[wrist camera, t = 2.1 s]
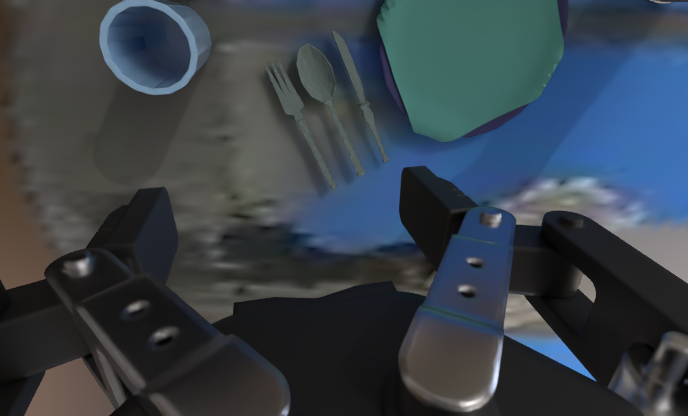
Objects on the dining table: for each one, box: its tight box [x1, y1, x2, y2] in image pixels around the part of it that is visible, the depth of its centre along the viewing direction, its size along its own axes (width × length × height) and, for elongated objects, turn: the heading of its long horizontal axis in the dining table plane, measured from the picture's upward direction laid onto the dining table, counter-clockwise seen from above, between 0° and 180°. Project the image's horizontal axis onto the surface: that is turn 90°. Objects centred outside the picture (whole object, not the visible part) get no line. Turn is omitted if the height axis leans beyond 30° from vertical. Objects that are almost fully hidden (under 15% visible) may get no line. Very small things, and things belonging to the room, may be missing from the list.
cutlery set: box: [265, 0, 568, 190], centre depth 38 cm, size 20×30×2 cm, turn 113°
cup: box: [99, 0, 212, 95], centre depth 30 cm, size 6×6×10 cm
